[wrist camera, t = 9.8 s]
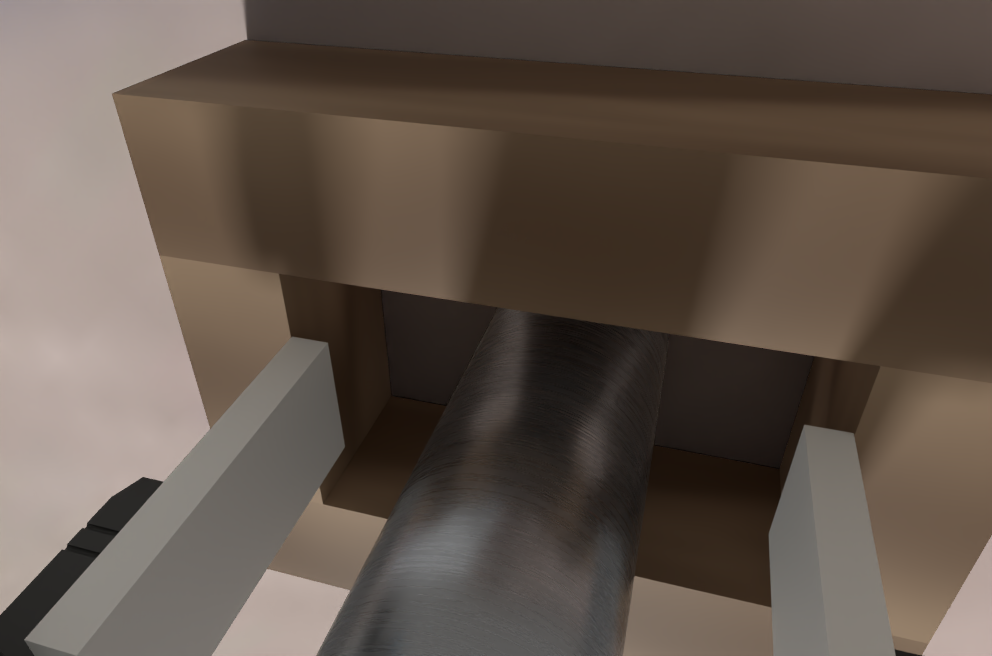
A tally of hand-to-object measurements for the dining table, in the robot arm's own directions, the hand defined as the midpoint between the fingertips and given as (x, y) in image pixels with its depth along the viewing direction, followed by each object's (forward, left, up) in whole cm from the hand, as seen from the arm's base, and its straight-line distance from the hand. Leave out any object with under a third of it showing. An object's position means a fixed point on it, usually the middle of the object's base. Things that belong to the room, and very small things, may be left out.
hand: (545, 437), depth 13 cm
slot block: (0, 0, -4) cm, 4 cm away
